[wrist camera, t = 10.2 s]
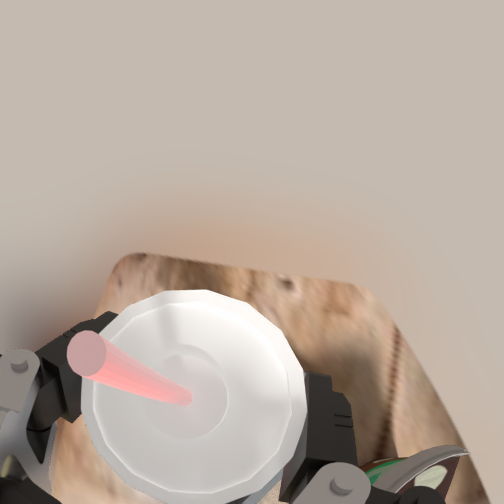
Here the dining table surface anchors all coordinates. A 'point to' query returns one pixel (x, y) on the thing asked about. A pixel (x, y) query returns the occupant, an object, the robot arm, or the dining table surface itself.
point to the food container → (416, 470)
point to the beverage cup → (191, 396)
